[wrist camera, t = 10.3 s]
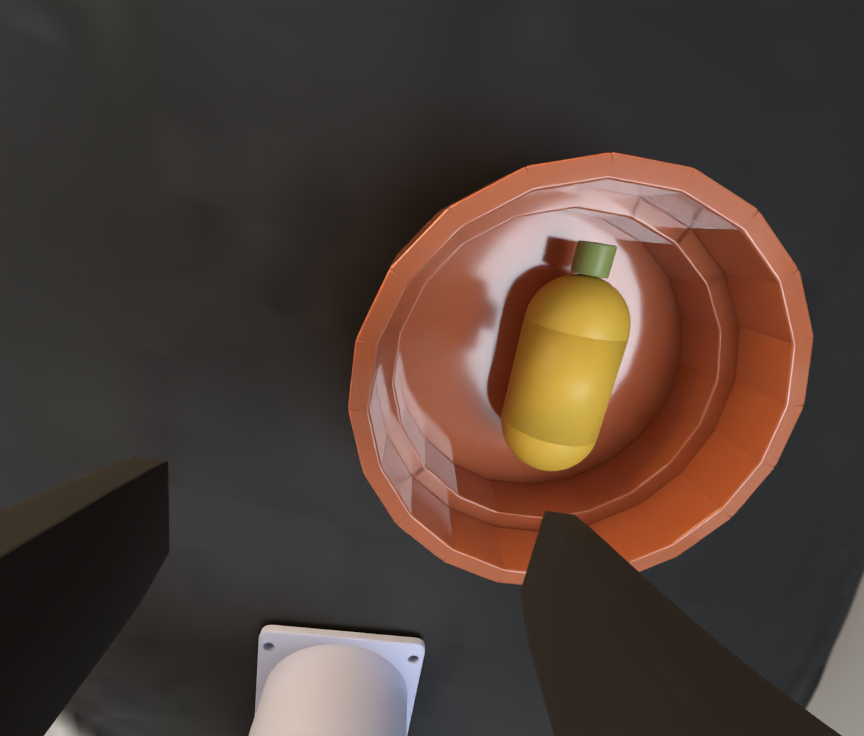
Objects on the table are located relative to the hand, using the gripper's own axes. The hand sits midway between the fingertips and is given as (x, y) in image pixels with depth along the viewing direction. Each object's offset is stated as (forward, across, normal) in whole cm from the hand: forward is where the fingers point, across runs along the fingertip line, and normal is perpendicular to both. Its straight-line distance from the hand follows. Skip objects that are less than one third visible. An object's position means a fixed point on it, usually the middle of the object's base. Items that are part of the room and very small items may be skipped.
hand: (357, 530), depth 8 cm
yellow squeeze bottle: (+9, -6, -2) cm, 11 cm away
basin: (+9, -6, -2) cm, 11 cm away
